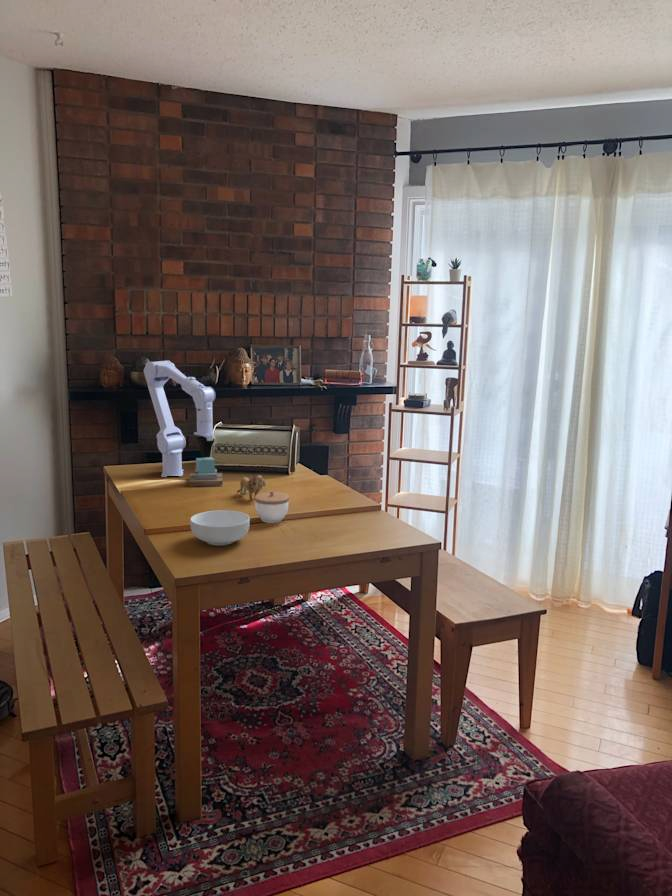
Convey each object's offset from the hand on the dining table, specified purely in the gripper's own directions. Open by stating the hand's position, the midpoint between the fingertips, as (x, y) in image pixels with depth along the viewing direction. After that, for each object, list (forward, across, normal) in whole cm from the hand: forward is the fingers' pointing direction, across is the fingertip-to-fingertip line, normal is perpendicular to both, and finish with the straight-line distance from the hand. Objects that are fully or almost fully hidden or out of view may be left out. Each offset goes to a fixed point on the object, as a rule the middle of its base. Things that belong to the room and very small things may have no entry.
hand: (205, 456), depth 274 cm
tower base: (+10, 0, 0) cm, 10 cm away
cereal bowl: (+10, +66, -12) cm, 68 cm away
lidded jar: (+10, +53, +8) cm, 54 cm away
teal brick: (+6, 0, 0) cm, 6 cm away
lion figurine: (+10, +26, +9) cm, 30 cm away
